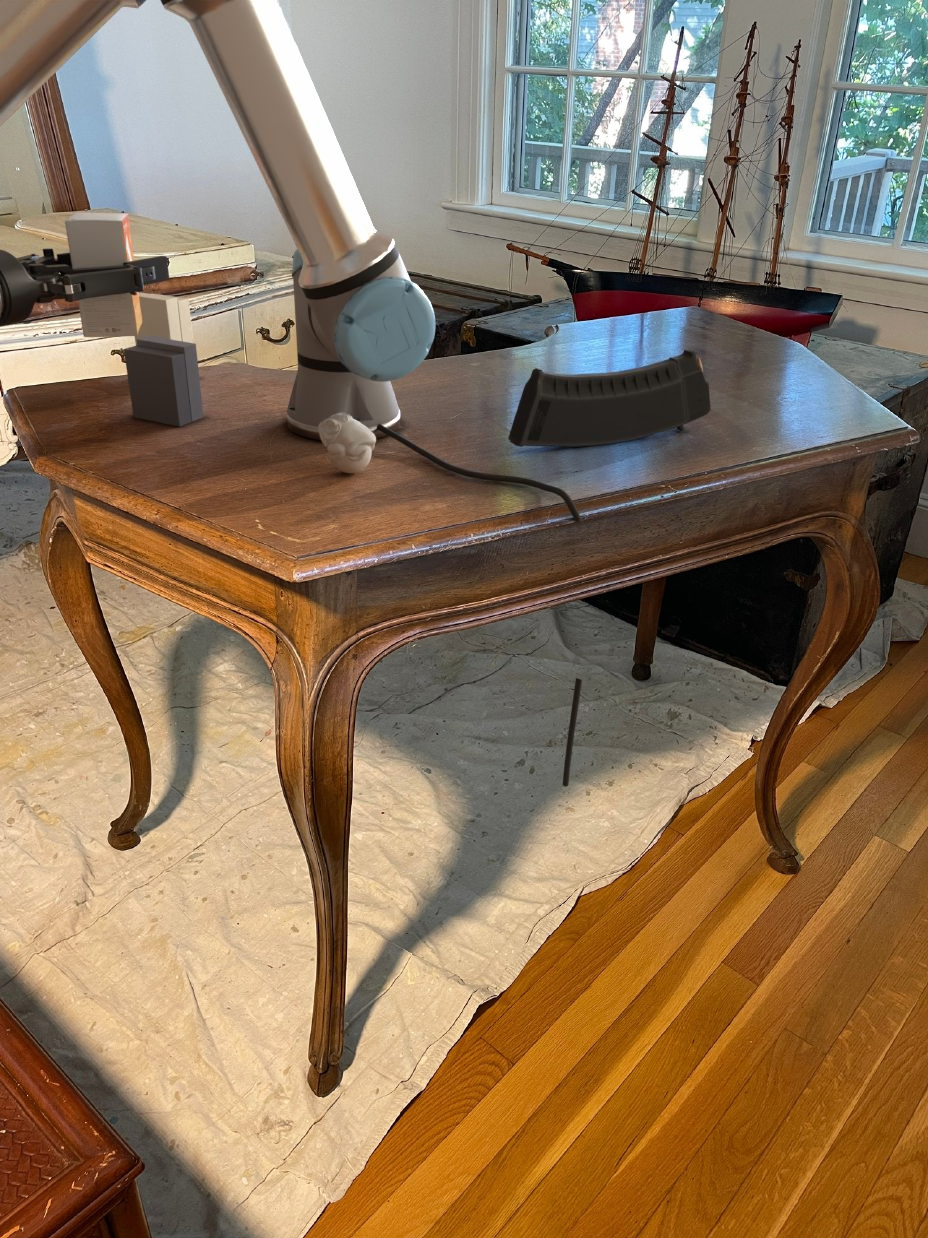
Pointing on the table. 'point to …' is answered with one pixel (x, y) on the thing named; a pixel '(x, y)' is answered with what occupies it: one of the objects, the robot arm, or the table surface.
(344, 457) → the plaster face bust
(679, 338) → the table surface
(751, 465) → the table surface
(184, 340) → the beige rectangular block
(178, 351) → the grey books
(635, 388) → the magazine
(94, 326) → the small box
